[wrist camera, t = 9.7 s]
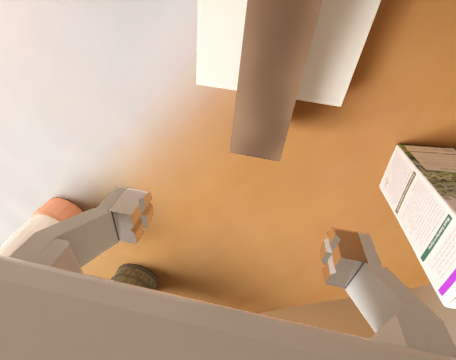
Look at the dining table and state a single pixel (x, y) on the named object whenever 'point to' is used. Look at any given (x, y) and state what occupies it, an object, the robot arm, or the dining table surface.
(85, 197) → the dining table surface
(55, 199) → the pepper shaker
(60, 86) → the dining table surface
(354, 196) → the dining table surface
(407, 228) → the syrup box
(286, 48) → the bar
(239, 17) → the board
